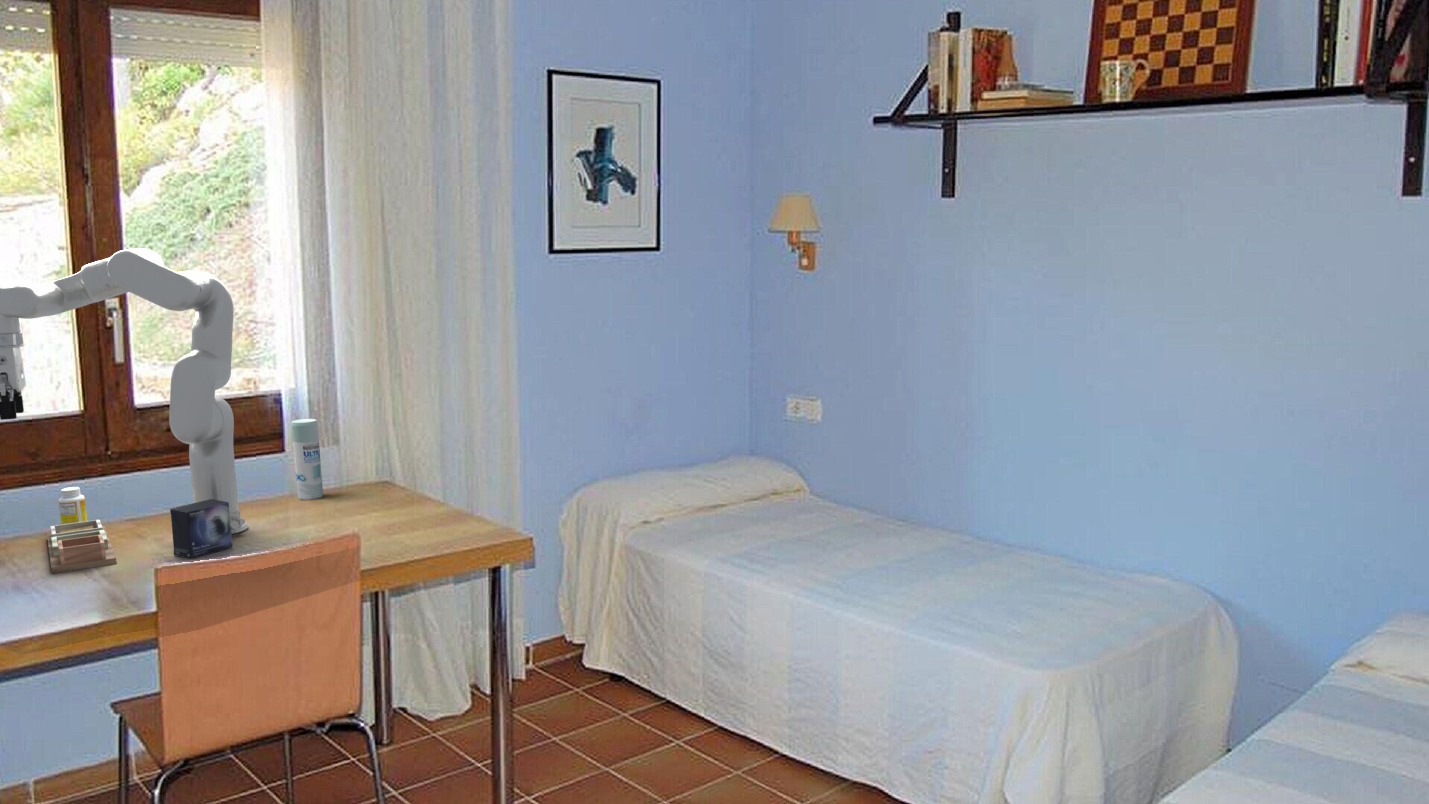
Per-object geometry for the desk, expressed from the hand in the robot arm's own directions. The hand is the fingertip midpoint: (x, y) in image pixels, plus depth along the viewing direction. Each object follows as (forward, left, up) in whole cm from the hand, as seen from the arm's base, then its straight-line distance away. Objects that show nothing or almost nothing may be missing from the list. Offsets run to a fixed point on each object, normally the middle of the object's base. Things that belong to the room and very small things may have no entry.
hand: (12, 415), depth 276 cm
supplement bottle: (-2, -10, -29) cm, 31 cm away
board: (-22, -1, -29) cm, 37 cm away
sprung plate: (-13, -5, -27) cm, 31 cm away
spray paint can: (-22, -60, -29) cm, 71 cm away
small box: (-48, -15, -29) cm, 59 cm away
